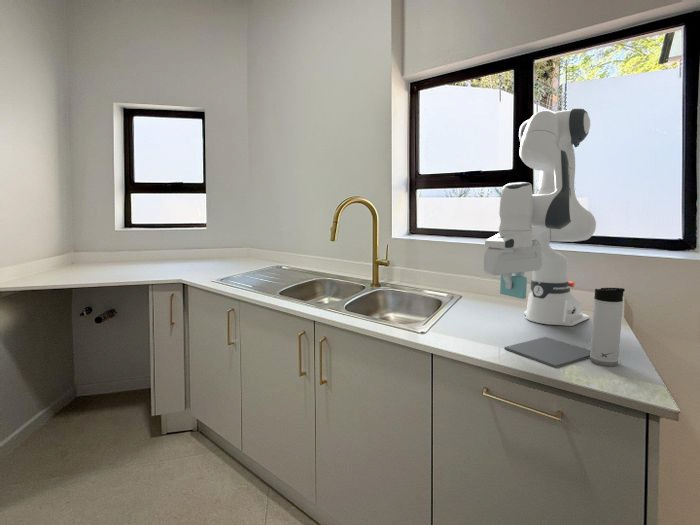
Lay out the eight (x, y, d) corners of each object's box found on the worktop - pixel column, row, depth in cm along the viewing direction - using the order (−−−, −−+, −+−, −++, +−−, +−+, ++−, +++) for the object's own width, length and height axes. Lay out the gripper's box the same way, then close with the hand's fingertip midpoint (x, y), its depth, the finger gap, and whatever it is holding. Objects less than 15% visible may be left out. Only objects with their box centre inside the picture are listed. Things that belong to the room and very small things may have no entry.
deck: (503, 293, 123) (504, 273, 122) (526, 298, 116) (526, 277, 115) (500, 293, 122) (500, 273, 121) (522, 298, 115) (523, 277, 114)
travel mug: (608, 368, 103) (614, 290, 100) (584, 359, 109) (589, 285, 106) (624, 364, 105) (631, 287, 102) (600, 356, 111) (605, 283, 108)
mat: (545, 338, 126) (545, 336, 126) (597, 354, 112) (598, 352, 112) (504, 349, 118) (504, 347, 118) (555, 367, 104) (556, 365, 104)
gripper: (530, 237, 124) (528, 282, 126) (480, 241, 115) (479, 289, 117) (549, 239, 119) (546, 286, 121) (498, 243, 109) (496, 293, 111)
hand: (513, 288), depth 119 cm, fingers closed on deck, 1 cm apart
